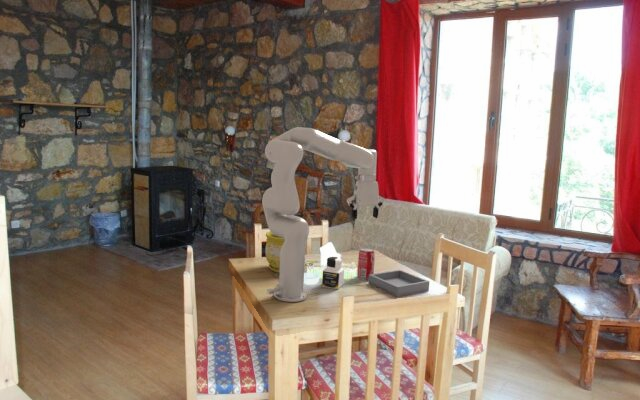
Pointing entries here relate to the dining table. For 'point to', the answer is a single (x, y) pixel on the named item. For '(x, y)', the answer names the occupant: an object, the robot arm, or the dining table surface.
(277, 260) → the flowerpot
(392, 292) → the tray
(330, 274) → the medicine bottle
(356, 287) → the dining table surface
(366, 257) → the soda can
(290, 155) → the robot arm
